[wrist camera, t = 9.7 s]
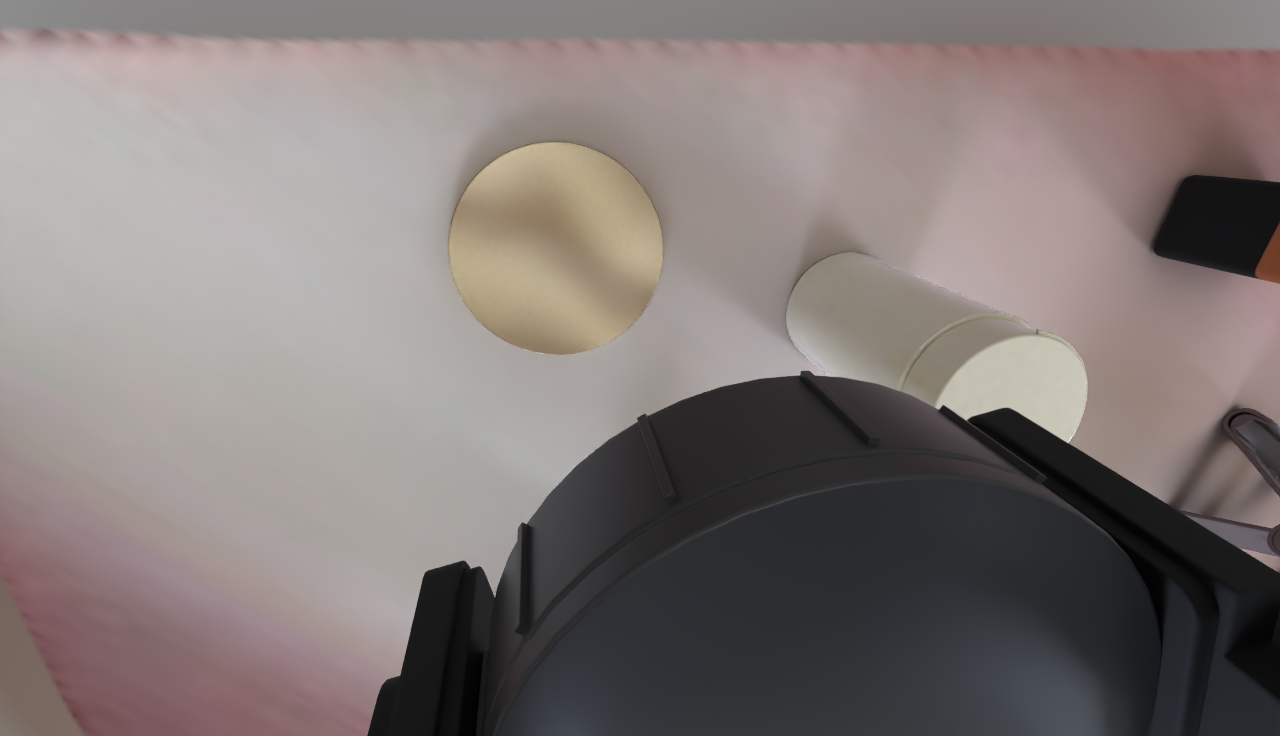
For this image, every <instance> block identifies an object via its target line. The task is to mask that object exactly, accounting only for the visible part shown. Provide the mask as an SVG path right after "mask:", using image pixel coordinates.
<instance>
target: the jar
mask: <svg viewBox="0 0 1280 736" xmlns="http://www.w3.org/2000/svg"><path fill="white" fill-rule="evenodd" d="M786 323H787V329H788V333H789V336H790V338H791V340H792V342H793V344H794V345H795V347H796V348H797V349H798V350H799V351H800V352H801V353H802V354H803V355H804V356H805V357H806V358H807V359H808V360H810V361H811V362H812V363H813V364H814V365H815V366H816V367H818V368H819V369H820V370H821V371H822V372H823V373H824V374H825V375H827V376H828V377H843V378H849V379H854V380H860V381H865V382H871V383H876V384H880V385H883V386H886V387H889V388H892V389H895V390H898V391H901V392H904V393H907V394H910V395H912V396H914V397H916V398H918V399H919V400H921V401H923V402H925V403H927V404H929V405H931V406H933V407H935V408H937V409H940V408H941V407H942V405H945V406H946V407H948V408H949V409H951V410H952V411H954V412H955V413H956V414H958V415H959V416H961V417H962V418H964V419H965V420H966V421H967V420H968V419H969V418H970V417H972V416H976V415H979V414H983V413H986V412H990V411H993V410H997V409H1000V408H1011V409H1013V410H1015V411H1017V412H1018V413H1020V414H1022V415H1023V416H1025V417H1026V418H1028V419H1030V420H1031V421H1033V422H1035V423H1036V424H1038V425H1039V426H1041V427H1043V428H1044V429H1046V430H1048V431H1049V432H1051V433H1052V434H1054V435H1056V436H1057V437H1059V438H1061V439H1062V440H1064V441H1065V442H1067V443H1069V442H1070V440H1071V438H1072V437H1073V435H1074V434H1075V432H1076V430H1077V428H1078V426H1079V424H1080V422H1081V419H1082V417H1083V414H1084V410H1085V406H1086V402H1087V381H1088V379H1087V375H1086V371H1085V367H1084V362H1083V360H1082V359H1081V357H1080V356H1079V354H1078V353H1077V351H1076V350H1075V348H1074V346H1072V345H1071V344H1069V343H1068V342H1067V341H1065V340H1064V339H1063V338H1061V337H1060V336H1058V335H1055V334H1052V333H1049V332H1045V331H1042V330H1039V329H1037V330H1034V329H1033V328H1032V327H1031V326H1030V325H1029V324H1027V323H1026V322H1024V321H1023V320H1021V319H1019V318H1017V317H1015V316H1012V315H1010V314H1007V313H1005V312H1003V311H1000V310H998V309H995V308H993V307H991V306H988V305H986V304H983V303H981V302H979V301H976V300H974V299H971V298H969V297H967V296H964V295H962V294H959V293H957V292H954V291H952V290H950V289H947V288H945V287H942V286H940V285H938V284H935V283H933V282H930V281H928V280H926V279H923V278H921V277H918V276H916V275H914V274H911V273H909V272H906V271H904V270H902V269H899V268H897V267H894V266H892V265H890V264H887V263H885V262H882V261H880V260H878V259H875V258H873V257H870V256H868V255H865V254H861V253H854V252H847V253H840V254H835V255H832V256H829V257H827V258H825V259H823V260H821V261H819V262H818V263H816V264H814V265H813V266H812V267H811V268H810V269H808V270H807V271H806V272H805V273H804V274H803V275H802V277H801V278H800V279H799V281H798V282H797V284H796V285H795V287H794V289H793V291H792V293H791V295H790V298H789V301H788V305H787V312H786Z"/></svg>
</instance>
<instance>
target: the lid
mask: <svg viewBox="0 0 1280 736" xmlns="http://www.w3.org/2000/svg"><path fill="white" fill-rule="evenodd" d="M637 420H638V422H637V423H635V424H633V425H632V426H630V427H629V428H627V429H625V430H624V431H622V432H621V433H619V434H617V435H616V436H614V437H613V438H611V439H609V440H608V441H607V442H606V443H604V444H603V445H602V446H601V447H599V448H598V449H596V450H595V451H594V452H593V453H592V454H590V455H589V456H588V457H587V458H586V459H584V460H583V461H582V462H581V463H579V464H578V465H577V466H576V467H575V468H574V469H573V470H572V471H571V472H570V473H569V474H568V475H567V476H566V477H565V478H564V480H563V481H562V482H561V483H560V484H559V485H558V486H557V487H556V488H555V489H554V490H553V491H552V492H551V493H550V494H549V495H548V496H547V498H546V499H545V501H544V502H543V503H542V505H541V506H540V507H539V509H538V510H537V511H536V513H535V514H534V515H533V517H532V518H531V519H530V521H529V522H528V523H527V524H525V523H521V525H520V527H519V528H518V541H517V543H516V545H515V546H514V548H513V550H512V552H511V554H510V556H509V558H508V560H507V563H506V566H505V569H504V571H503V574H502V577H501V579H500V582H499V585H498V588H497V592H496V597H495V602H494V607H493V612H492V617H491V626H490V638H489V650H484V651H483V658H482V669H481V679H480V690H479V701H478V711H477V722H476V733H475V736H1145V734H1146V731H1147V729H1148V726H1149V723H1150V721H1151V718H1152V715H1153V712H1154V706H1155V700H1156V695H1157V689H1158V684H1159V674H1160V664H1161V654H1162V645H1161V637H1160V629H1159V621H1158V617H1157V614H1156V611H1155V608H1154V605H1153V602H1152V599H1151V596H1150V593H1149V590H1148V588H1147V586H1146V584H1145V583H1144V581H1143V579H1142V577H1141V576H1140V574H1139V572H1138V571H1137V569H1136V567H1135V565H1134V564H1133V562H1132V560H1131V558H1130V557H1129V556H1128V555H1127V554H1126V553H1125V552H1124V551H1123V549H1122V548H1121V547H1120V546H1119V545H1118V544H1117V543H1116V542H1115V541H1114V539H1113V538H1112V537H1111V536H1110V535H1109V534H1108V533H1107V532H1106V531H1104V530H1103V529H1102V528H1100V527H1099V526H1098V525H1096V524H1095V523H1094V522H1092V521H1091V520H1090V519H1088V518H1087V517H1086V516H1084V515H1083V514H1082V513H1080V512H1079V511H1078V510H1076V509H1075V508H1074V507H1072V506H1071V505H1069V504H1068V503H1067V502H1065V501H1064V500H1063V499H1061V498H1060V497H1058V496H1057V495H1056V494H1054V493H1053V492H1051V491H1050V490H1049V489H1047V488H1046V487H1045V486H1043V485H1042V483H1043V482H1044V481H1045V480H1046V479H1047V477H1046V476H1044V475H1043V474H1041V473H1040V472H1039V471H1037V470H1036V469H1034V468H1033V467H1031V466H1030V465H1029V464H1027V463H1026V462H1024V461H1023V460H1022V459H1020V458H1019V457H1017V456H1016V455H1014V454H1013V453H1012V452H1010V451H1009V450H1007V449H1006V448H1005V447H1003V446H1002V445H1000V444H999V443H998V442H996V441H995V440H993V439H992V438H990V437H989V436H988V435H986V434H985V433H983V432H982V431H981V430H979V429H978V428H976V427H975V426H973V425H972V424H971V423H969V422H968V421H966V420H965V419H964V418H962V417H961V416H959V415H958V414H956V413H955V412H954V411H952V410H951V409H949V408H948V407H946V406H945V405H942V407H941V408H940V409H937V408H935V407H933V406H931V405H929V404H927V403H925V402H923V401H921V400H919V399H918V398H916V397H914V396H912V395H910V394H907V393H904V392H901V391H898V390H895V389H892V388H889V387H886V386H883V385H880V384H876V383H871V382H865V381H860V380H854V379H849V378H843V377H827V376H814V375H813V374H812V373H811V372H810V371H801V375H800V376H788V377H776V378H764V379H757V380H752V381H748V382H743V383H738V384H733V385H728V386H724V387H720V388H717V389H714V390H711V391H708V392H704V393H702V394H698V395H695V396H693V397H690V398H687V399H684V400H681V401H679V402H677V403H675V404H673V405H670V406H668V407H666V408H664V409H662V410H660V411H658V412H656V413H653V414H651V415H649V416H647V415H646V414H643V415H642V416H640V417H638V418H637Z"/></svg>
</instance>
